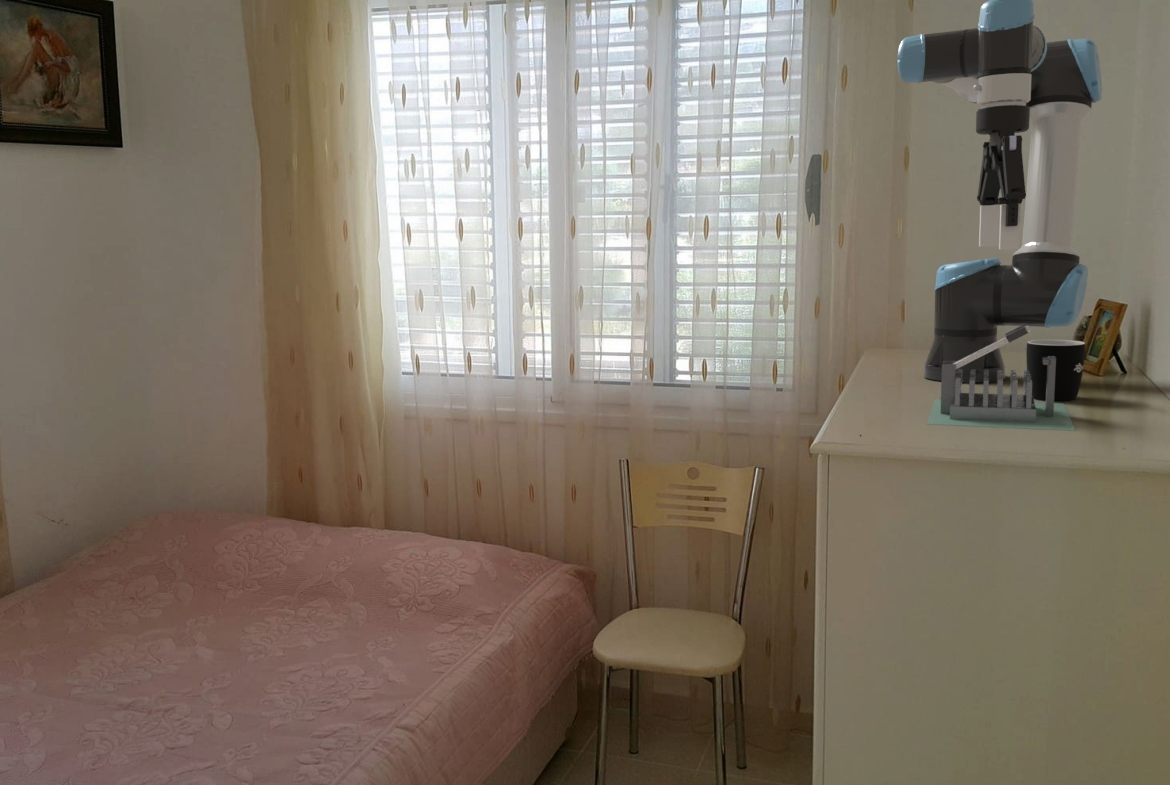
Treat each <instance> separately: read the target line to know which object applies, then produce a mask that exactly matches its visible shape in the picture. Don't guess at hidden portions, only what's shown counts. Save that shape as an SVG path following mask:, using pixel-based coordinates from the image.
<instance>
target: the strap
mask: <svg viewBox="0 0 1170 785" xmlns="http://www.w3.org/2000/svg"><path fill="white" fill-rule="evenodd" d="M1031 332H1032V329H1031V327H1030V326H1024V325H1022V326H1017V327H1016V328H1014V329H1013V330H1012V329H1011V330H1010V331H1008V332H1006V333H1005V336H1004V337H1002V338H1001V339H999V340H998V339H997V341H996V342H994V343H992V344H990V345H988V346H986V347H984V348H982V349H980V350H979V351H977V352H975V353H973V354H971V355H969V356H967V357H965V358H963V359H961V360H959V361H957V362H955V363H953V364H956V369H958V368H960V367H962V366H964V365H966V364H968V363H970V362H972V361H973V360H975V359H977V358H979V357H981V356H983V355H985V354H987V353H989V352H991V351H993V350H995V349H997V348H999V349H1000V348H1001V347H1003V346H1005V345H1007V344H1009V343H1012V342H1013V341H1016V340H1018V339H1019V338H1022V337H1023V336H1026V335H1028V334H1029V333H1031Z"/></svg>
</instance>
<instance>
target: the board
mask: <svg viewBox="0 0 1170 785" xmlns="http://www.w3.org/2000/svg"><path fill="white" fill-rule="evenodd" d="M932 404H933V405H932V407H931V410H930V413H929V417H928V420H927V425H930V426H933V425H935V426H956V427H979V428H998V429H999V428H1001V429H1002V428H1003V429H1022V430H1023V429H1025V430H1027V429H1028V430H1044V431H1045V430H1047V431H1070V432H1071V431H1072V432H1073V431H1074V432H1076V429H1075V427H1074V423H1073V422H1072V419H1071V417H1070V415H1069V413H1068V411H1067V408H1066V406H1065V403H1061V402H1060V403H1059V402H1054V413H1053V417H1046V415H1045V404H1046V402H1034V404H1035V407H1036V422H1035V423H1030V422H1006V421H981V420H957V419H950V414H941V398H939V399H938V398H934V400H933V403H932Z"/></svg>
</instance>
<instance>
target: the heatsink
mask: <svg viewBox="0 0 1170 785" xmlns="http://www.w3.org/2000/svg"><path fill="white" fill-rule="evenodd" d="M955 362H957V361H943V364H942V381H940V382H941V383H940V384H941V385H940V386H941V387H940V390H941V391H940V399H941V414H950V419H957V420H981V421H1006V422H1030V423H1035V422H1036V407H1035V404H1034V403H1035V399H1033V396H1032V379H1031V376H1030V372H1029V371H1027V370H1024V371H1023V372H1024V373H1023V394H1018V383H1019V382H1018V377H1017V372H1016V369H1015V370H1013V369H1011V370H1010V381H1009V382H1010V384H1009V394H1007V393H1003V392H1004V379H1003V375H1002V370H997V381H996V391H995V392H996V393H989V383H990V382H989V370H984V382H983V385H982V386H983V387H982V388H983V389H982V393H976V382H975V369H971V373H970V382H968V383H969V386H968V388H969V389H968V392H963V391H962V390H963V389H962V388H963V382H962V369H958V371H957V375H956V364H953V363H955ZM1042 362H1043V365H1047V383H1046V401H1045V403H1046V404H1045V415H1046V417H1053V413H1054V403H1055V402H1054V391H1055V370H1056V357H1055V356H1048V357H1043V361H1042Z"/></svg>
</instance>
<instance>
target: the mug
mask: <svg viewBox="0 0 1170 785" xmlns="http://www.w3.org/2000/svg"><path fill="white" fill-rule="evenodd" d="M1025 355H1026V371H1029V372H1030V376H1031V379H1032V396H1033V400H1034V401H1042V402H1046V383H1047V365H1043V362H1042V361H1043V357H1048V356H1055V357H1056V370H1055V391H1054V403H1059V402H1060V403H1061V402H1064V403H1065V402H1073V401H1076V399H1077V397H1078V395H1079V392H1080V388H1081V385H1082V384H1081V383H1082V378H1083V373H1084V367H1085V357H1086V356H1085V355H1086V342H1084V341H1081V340H1069V339H1068V340H1067V339H1034V340H1028V341H1027V342H1026V354H1025Z"/></svg>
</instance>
